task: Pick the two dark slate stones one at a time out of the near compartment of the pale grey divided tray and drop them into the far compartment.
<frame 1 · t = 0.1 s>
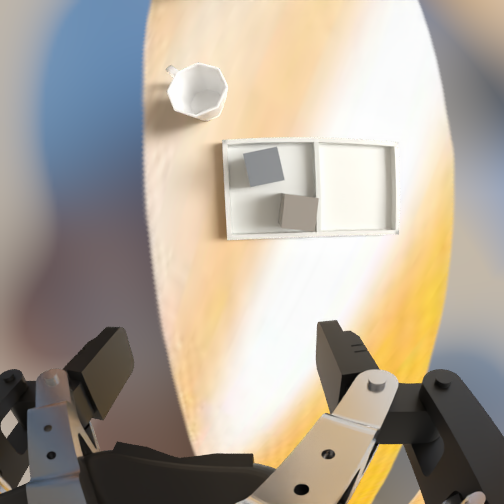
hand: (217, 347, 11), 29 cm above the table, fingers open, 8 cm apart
stone a: (262, 169, 37), resting on divided tray
divided tray: (315, 186, 38), on the table
cup: (201, 100, 35), on the table
stone b: (294, 209, 38), resting on divided tray
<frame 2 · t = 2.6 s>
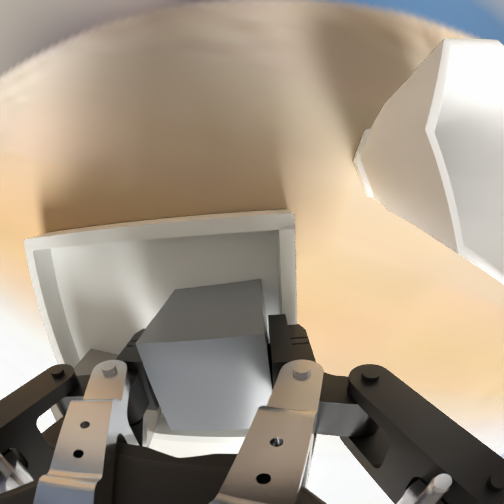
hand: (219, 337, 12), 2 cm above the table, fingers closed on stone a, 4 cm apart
stone a: (224, 323, 13), point 1 cm above the table, touching divided tray, gripper
divided tray: (185, 416, 15), on the table
cup: (408, 146, 12), on the table
stone b: (126, 382, 14), resting on divided tray
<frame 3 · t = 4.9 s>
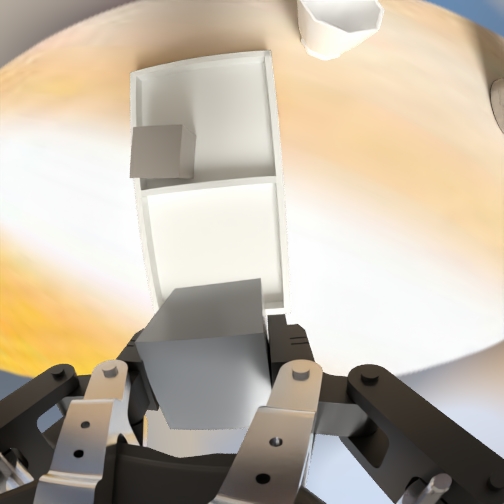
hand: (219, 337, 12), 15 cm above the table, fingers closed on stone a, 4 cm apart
stone a: (224, 323, 13), point 14 cm above the table, touching gripper
divided tray: (209, 185, 25), on the table
cup: (330, 36, 22), on the table
stone b: (173, 156, 24), resting on divided tray
when the fingers open (3 cm above the table, at t = 7.2 s): stone a drops 1 cm, resting on divided tray.
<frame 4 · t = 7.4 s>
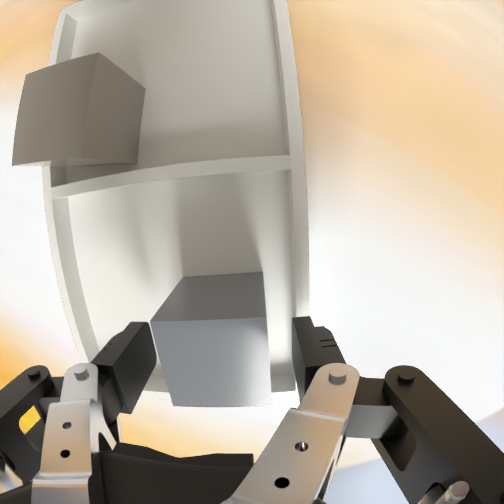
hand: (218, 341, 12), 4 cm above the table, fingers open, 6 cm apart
stone a: (226, 311, 15), resting on divided tray
divided tray: (165, 175, 14), on the table
stone b: (107, 127, 12), resting on divided tray
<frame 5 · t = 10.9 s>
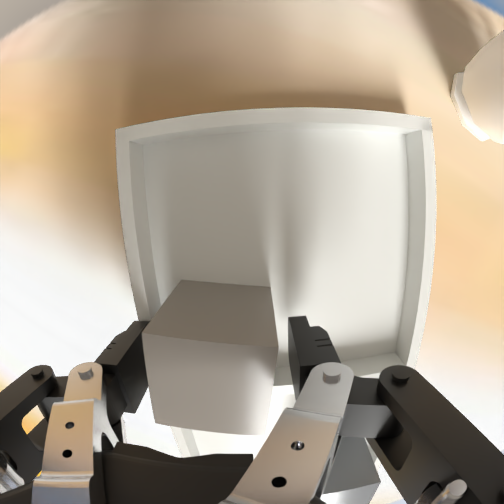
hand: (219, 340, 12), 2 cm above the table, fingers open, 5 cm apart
stone a: (325, 445, 15), resting on divided tray
divided tray: (287, 365, 14), on the table
cup: (483, 94, 11), on the table
stone b: (223, 323, 13), resting on divided tray
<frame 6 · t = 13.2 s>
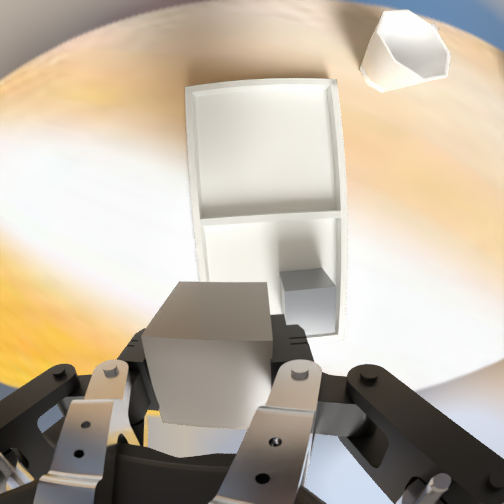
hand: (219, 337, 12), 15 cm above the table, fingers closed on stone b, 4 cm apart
stone a: (301, 290, 27), resting on divided tray
divided tray: (270, 215, 26), on the table
cup: (386, 66, 22), on the table
stone b: (224, 321, 13), point 13 cm above the table, touching gripper
when the fingers open (3 cm above the table, at t = 15.3 s): stone b drops 1 cm, resting on divided tray.
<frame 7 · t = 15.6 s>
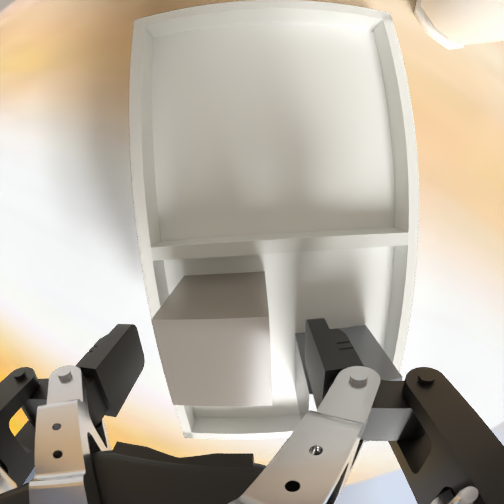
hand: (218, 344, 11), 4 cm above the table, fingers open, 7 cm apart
stone a: (329, 359, 15), resting on divided tray
divided tray: (281, 237, 14), on the table
cup: (446, 18, 11), on the table
stone b: (227, 310, 15), resting on divided tray
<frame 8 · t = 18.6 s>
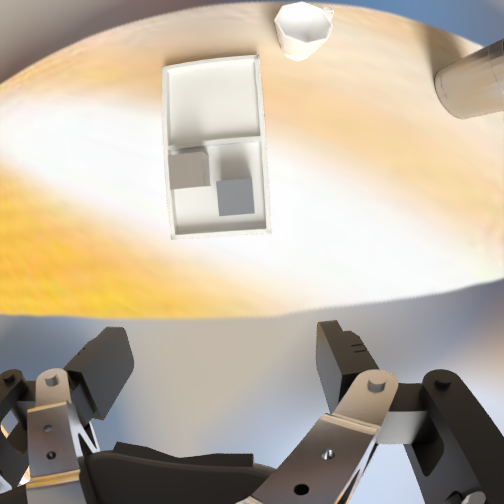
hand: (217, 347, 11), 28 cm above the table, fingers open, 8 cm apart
stone a: (238, 195, 37), resting on divided tray
divided tray: (215, 144, 36), on the table
cup: (302, 44, 32), on the table
stone b: (194, 172, 36), resting on divided tray
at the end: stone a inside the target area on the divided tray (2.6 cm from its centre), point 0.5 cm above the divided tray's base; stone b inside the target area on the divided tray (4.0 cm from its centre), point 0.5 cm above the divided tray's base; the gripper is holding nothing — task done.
